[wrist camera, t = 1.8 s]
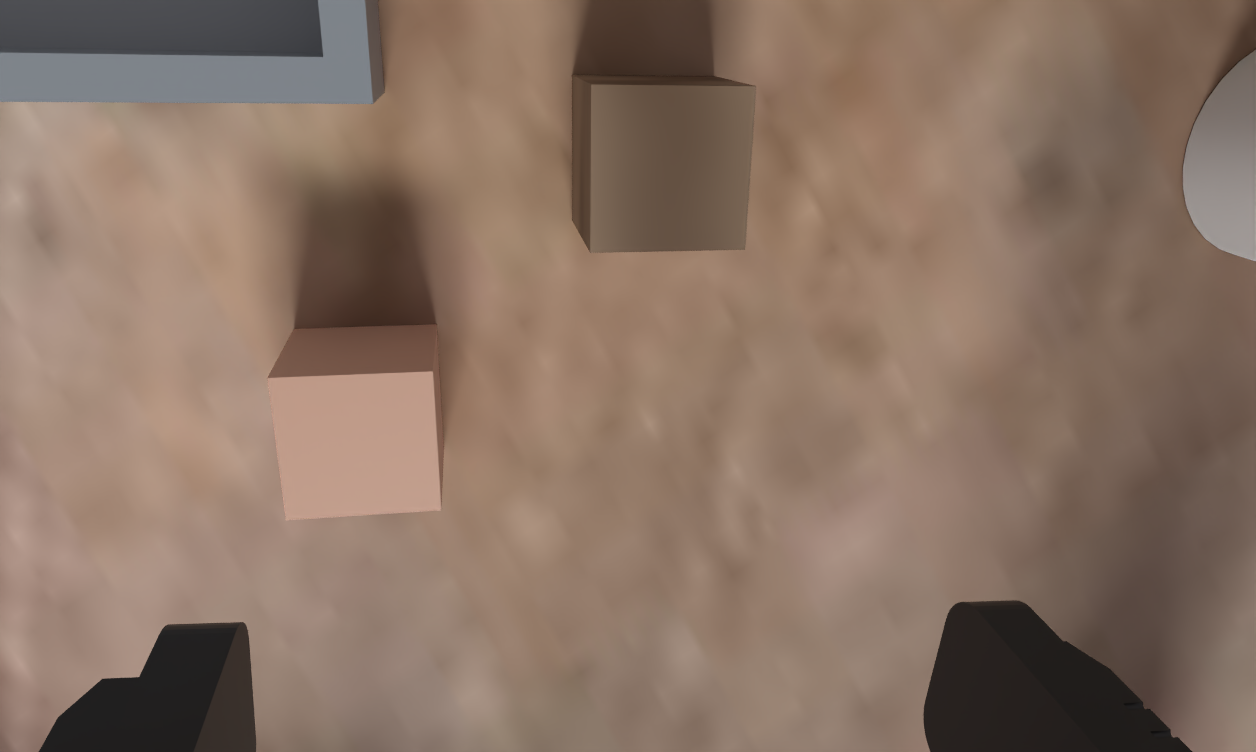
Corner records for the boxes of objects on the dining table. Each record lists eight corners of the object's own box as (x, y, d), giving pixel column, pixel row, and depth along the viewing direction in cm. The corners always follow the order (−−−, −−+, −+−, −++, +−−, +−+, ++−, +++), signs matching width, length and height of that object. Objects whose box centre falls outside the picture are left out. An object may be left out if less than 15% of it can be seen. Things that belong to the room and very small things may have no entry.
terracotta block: (436, 323, 27) (432, 371, 23) (443, 446, 28) (441, 510, 25) (294, 327, 26) (267, 377, 23) (309, 454, 28) (286, 520, 24)
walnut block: (713, 76, 26) (756, 86, 22) (706, 217, 27) (745, 249, 23) (571, 74, 25) (591, 84, 21) (571, 219, 26) (590, 252, 23)
